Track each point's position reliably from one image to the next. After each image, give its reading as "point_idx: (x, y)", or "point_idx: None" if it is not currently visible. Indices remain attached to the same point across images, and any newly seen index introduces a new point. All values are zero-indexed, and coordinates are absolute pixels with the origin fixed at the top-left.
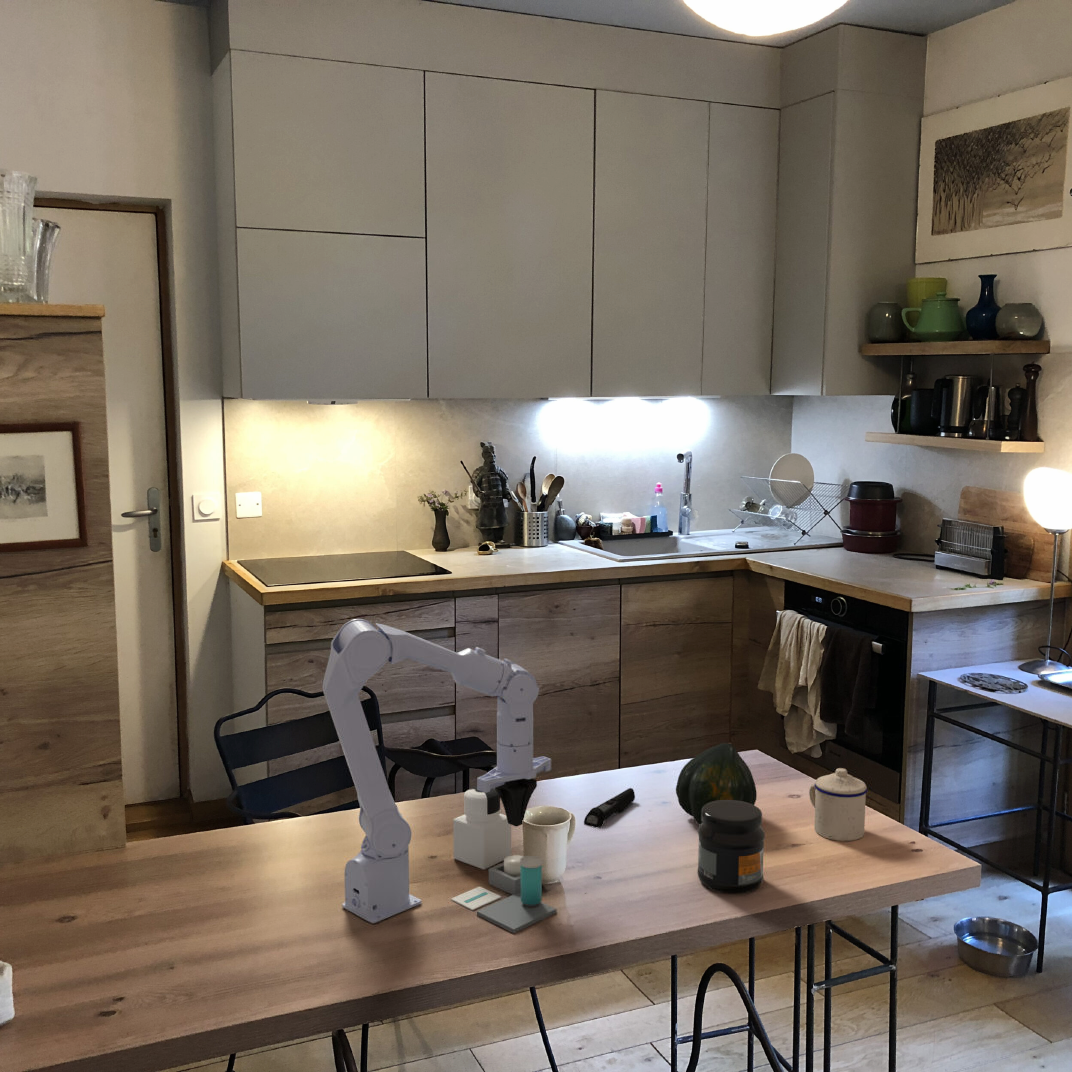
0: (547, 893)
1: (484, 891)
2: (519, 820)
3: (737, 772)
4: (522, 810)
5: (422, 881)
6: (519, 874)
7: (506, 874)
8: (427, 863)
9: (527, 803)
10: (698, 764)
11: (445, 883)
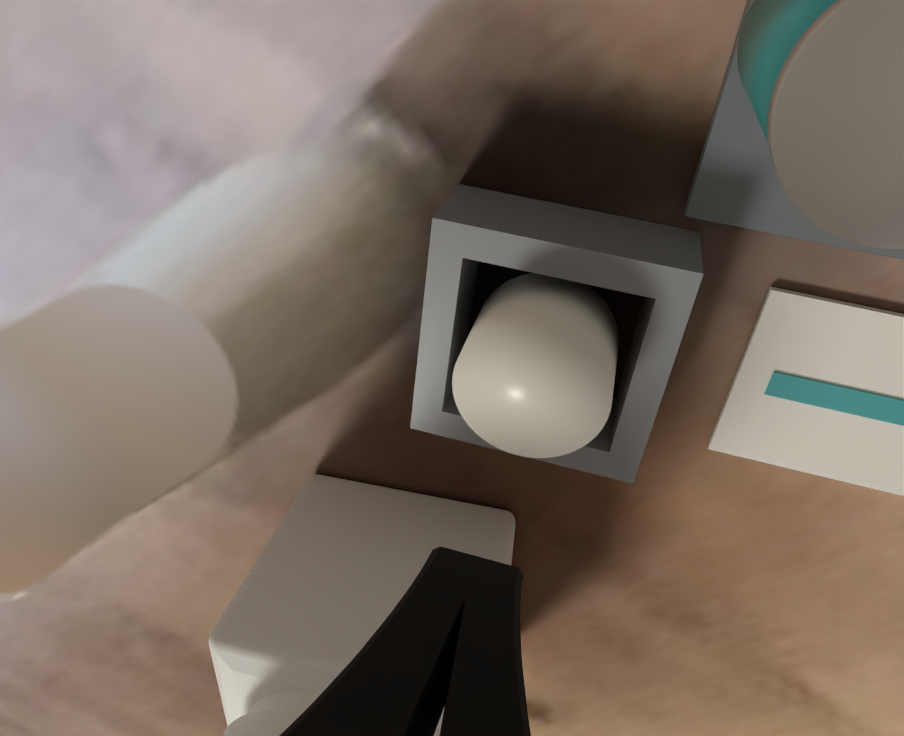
0: (551, 68)
1: (753, 400)
2: (484, 600)
3: None
4: (425, 682)
5: (781, 670)
6: (582, 301)
7: (646, 364)
8: (602, 708)
9: (314, 722)
10: None
11: (748, 589)
